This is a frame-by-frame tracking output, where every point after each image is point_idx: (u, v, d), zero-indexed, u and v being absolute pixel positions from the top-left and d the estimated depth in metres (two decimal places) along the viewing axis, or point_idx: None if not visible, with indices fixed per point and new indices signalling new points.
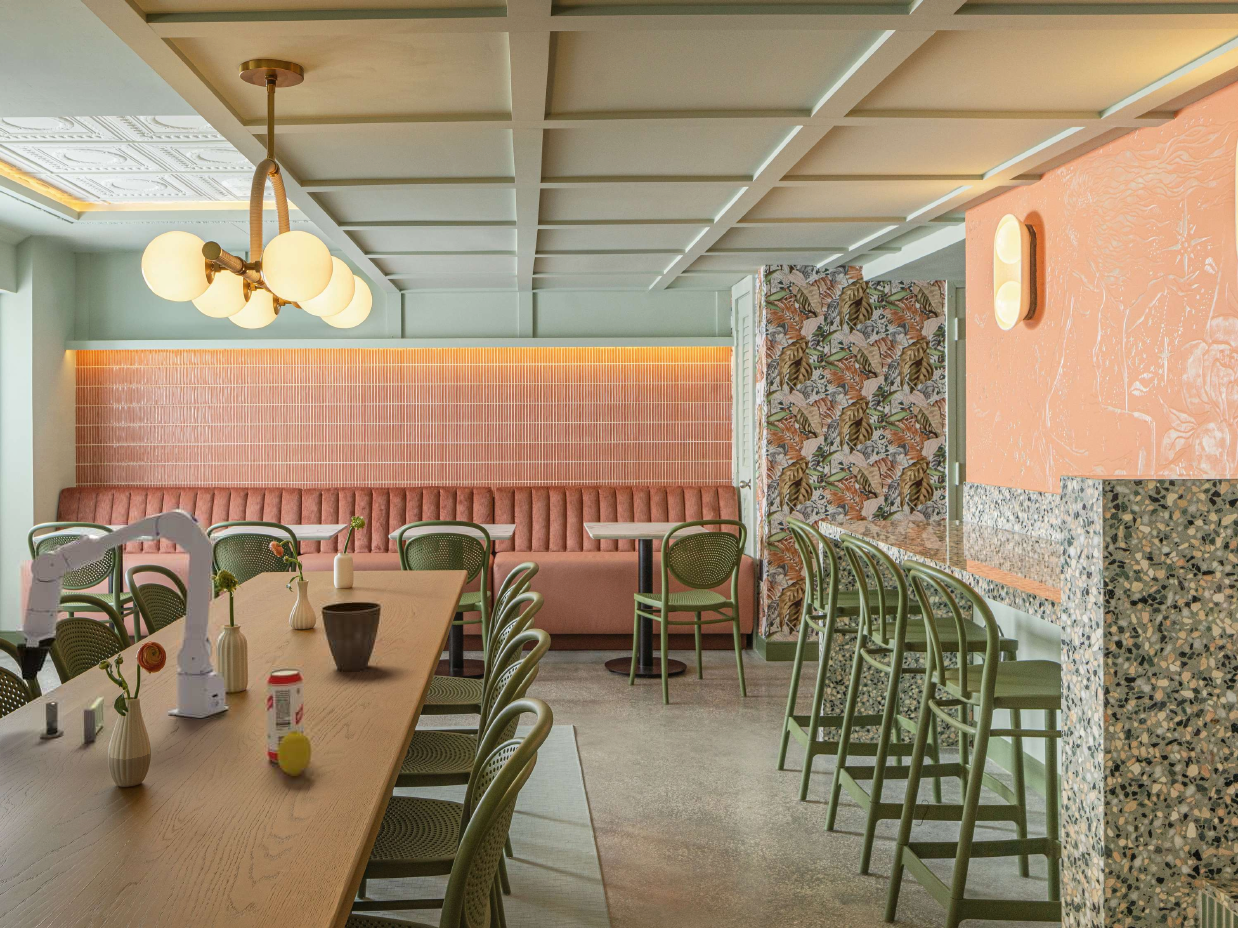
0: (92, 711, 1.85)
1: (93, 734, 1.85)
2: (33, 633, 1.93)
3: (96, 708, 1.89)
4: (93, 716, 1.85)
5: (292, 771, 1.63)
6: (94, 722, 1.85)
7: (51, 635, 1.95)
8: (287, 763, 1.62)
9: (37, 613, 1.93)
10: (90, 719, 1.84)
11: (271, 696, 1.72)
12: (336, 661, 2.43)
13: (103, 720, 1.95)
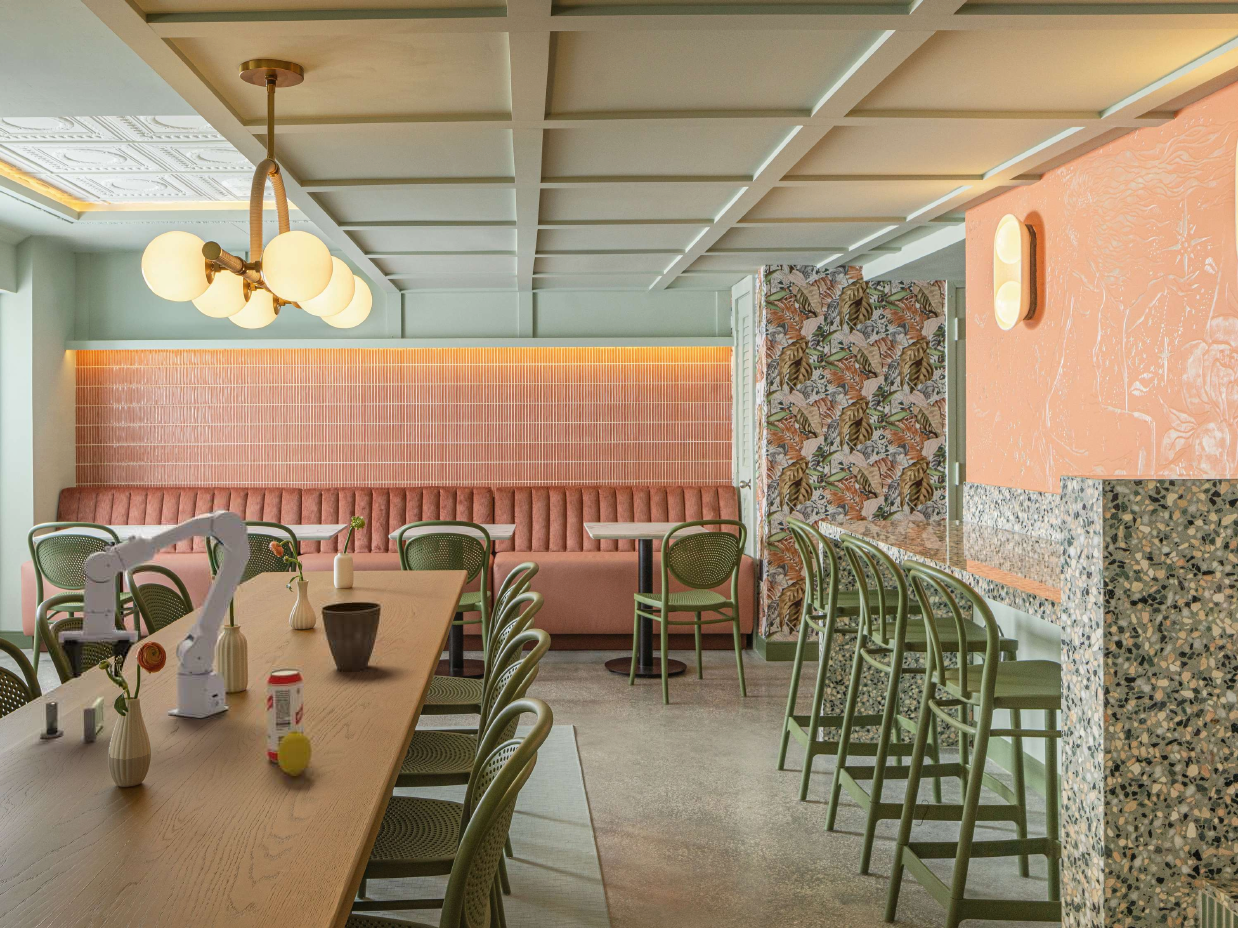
0: (92, 711, 1.85)
1: (93, 734, 1.85)
2: (113, 632, 1.95)
3: (96, 708, 1.89)
4: (93, 716, 1.85)
5: (292, 771, 1.63)
6: (94, 722, 1.85)
7: None
8: (287, 763, 1.62)
9: (113, 612, 1.96)
10: (90, 719, 1.84)
11: (271, 696, 1.72)
12: (336, 661, 2.43)
13: (103, 720, 1.95)
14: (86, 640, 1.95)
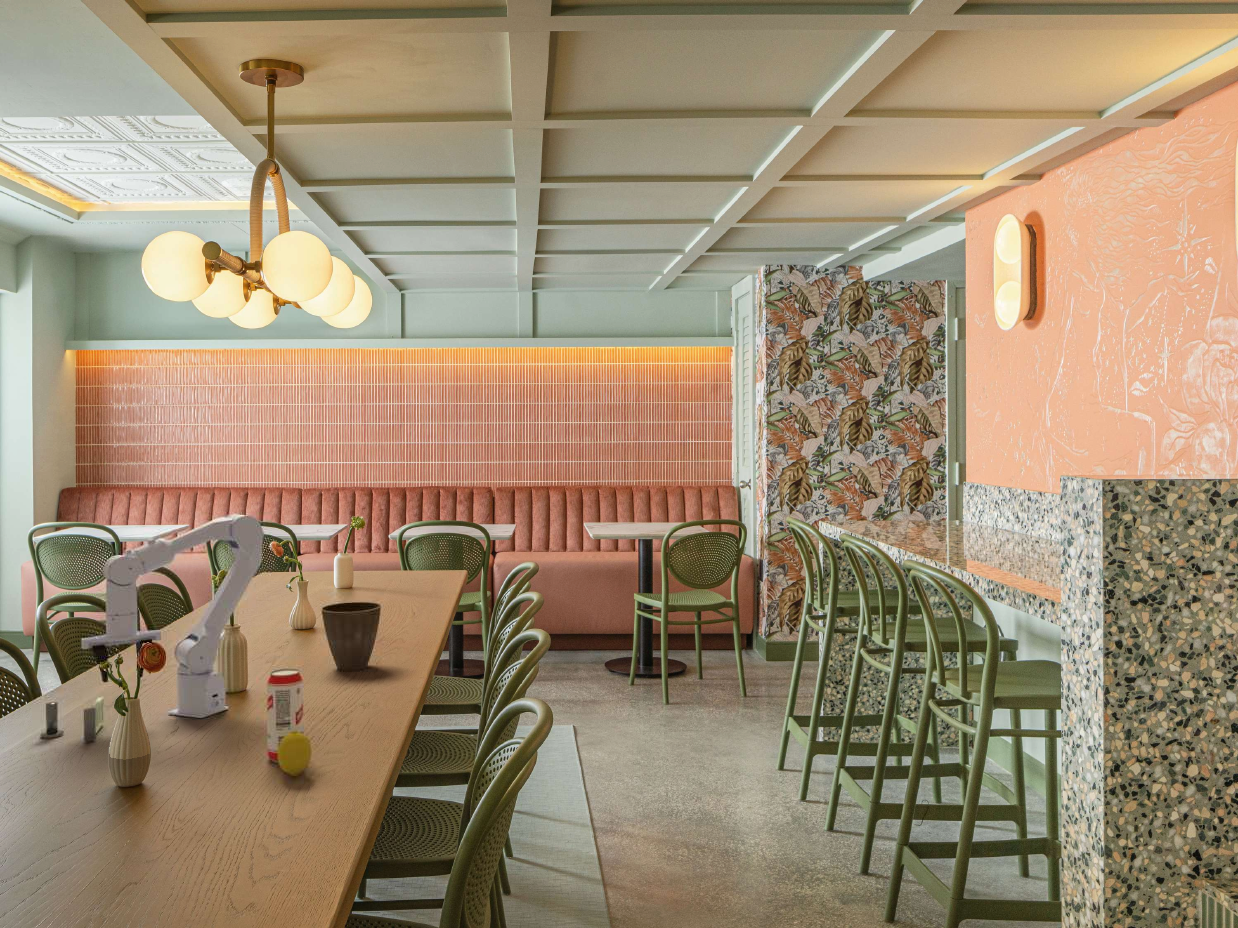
0: (92, 711, 1.85)
1: (93, 734, 1.85)
2: (138, 633, 1.98)
3: (96, 708, 1.89)
4: (93, 716, 1.85)
5: (292, 771, 1.63)
6: (94, 722, 1.85)
7: None
8: (287, 763, 1.62)
9: None
10: (90, 719, 1.84)
11: (271, 696, 1.72)
12: (336, 661, 2.43)
13: (103, 720, 1.95)
14: (110, 644, 1.95)
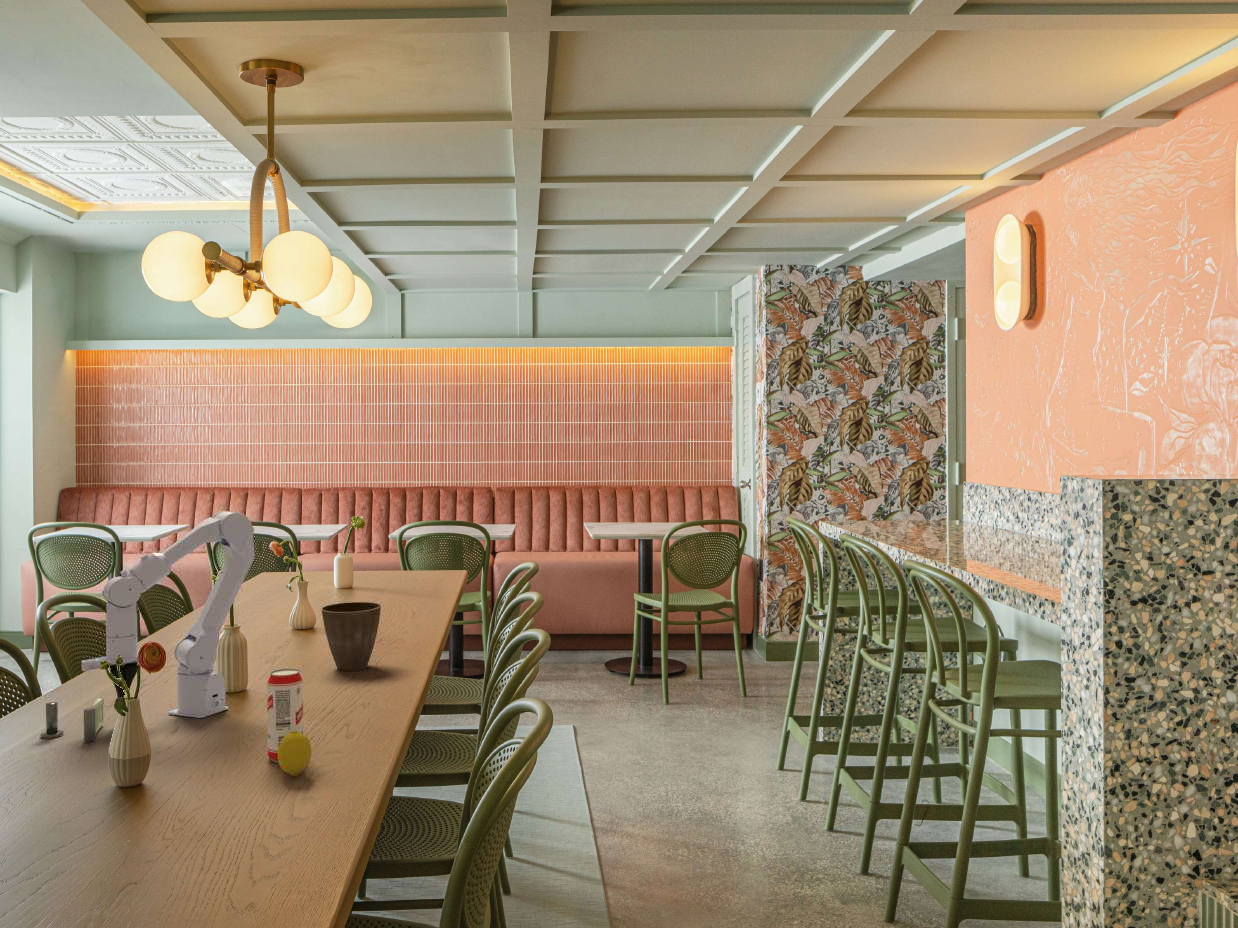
0: (92, 711, 1.85)
1: (93, 734, 1.85)
2: None
3: (96, 708, 1.89)
4: (93, 716, 1.85)
5: (292, 771, 1.63)
6: (94, 722, 1.85)
7: None
8: (287, 763, 1.62)
9: None
10: (90, 719, 1.84)
11: (271, 696, 1.72)
12: (336, 661, 2.43)
13: (103, 720, 1.95)
14: (110, 666, 1.95)
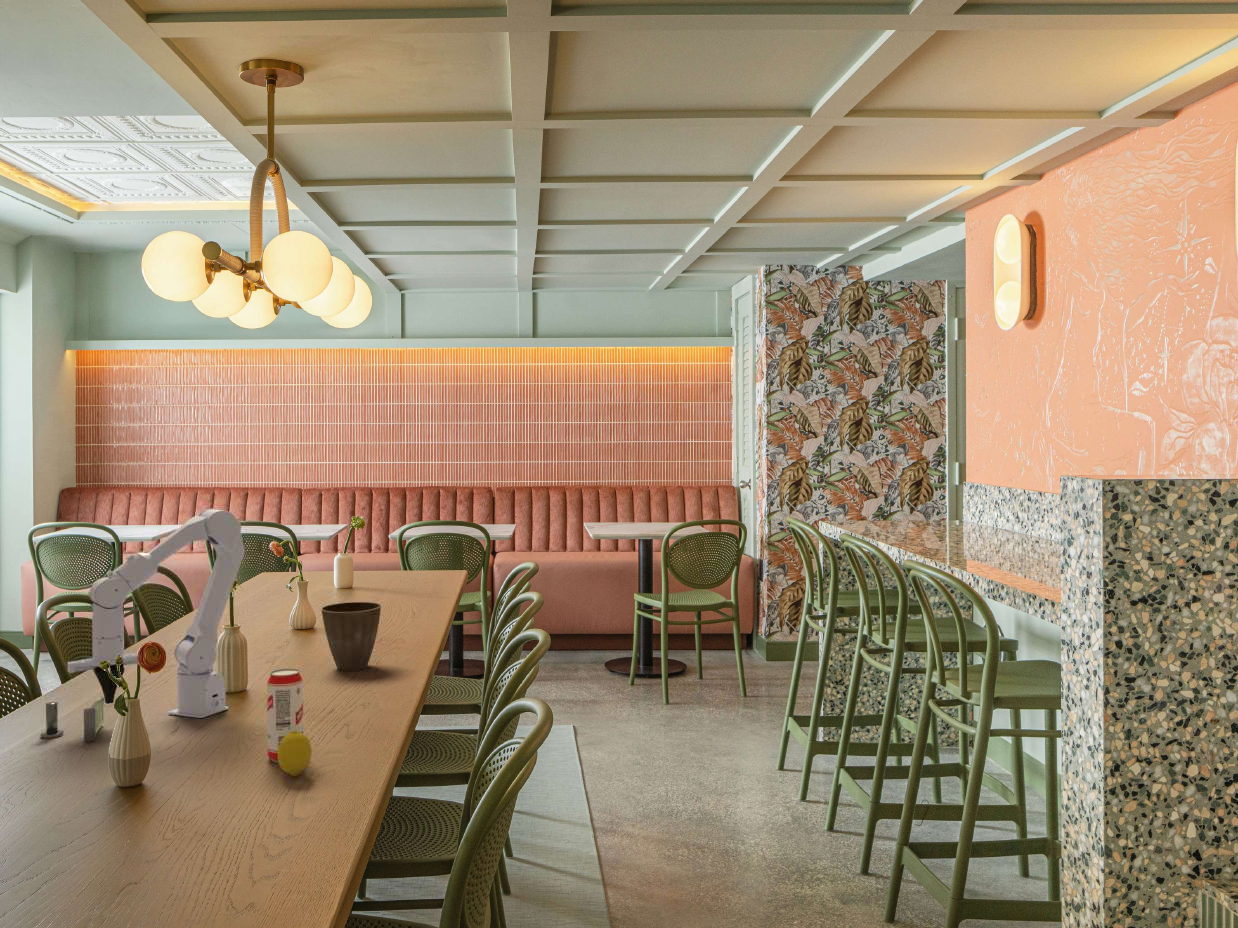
0: (92, 711, 1.85)
1: (93, 734, 1.85)
2: (125, 656, 1.97)
3: (96, 708, 1.89)
4: (93, 716, 1.85)
5: (292, 771, 1.63)
6: (94, 722, 1.85)
7: None
8: (287, 763, 1.62)
9: None
10: (90, 719, 1.84)
11: (271, 696, 1.72)
12: (336, 661, 2.43)
13: (103, 720, 1.95)
14: (97, 667, 1.94)
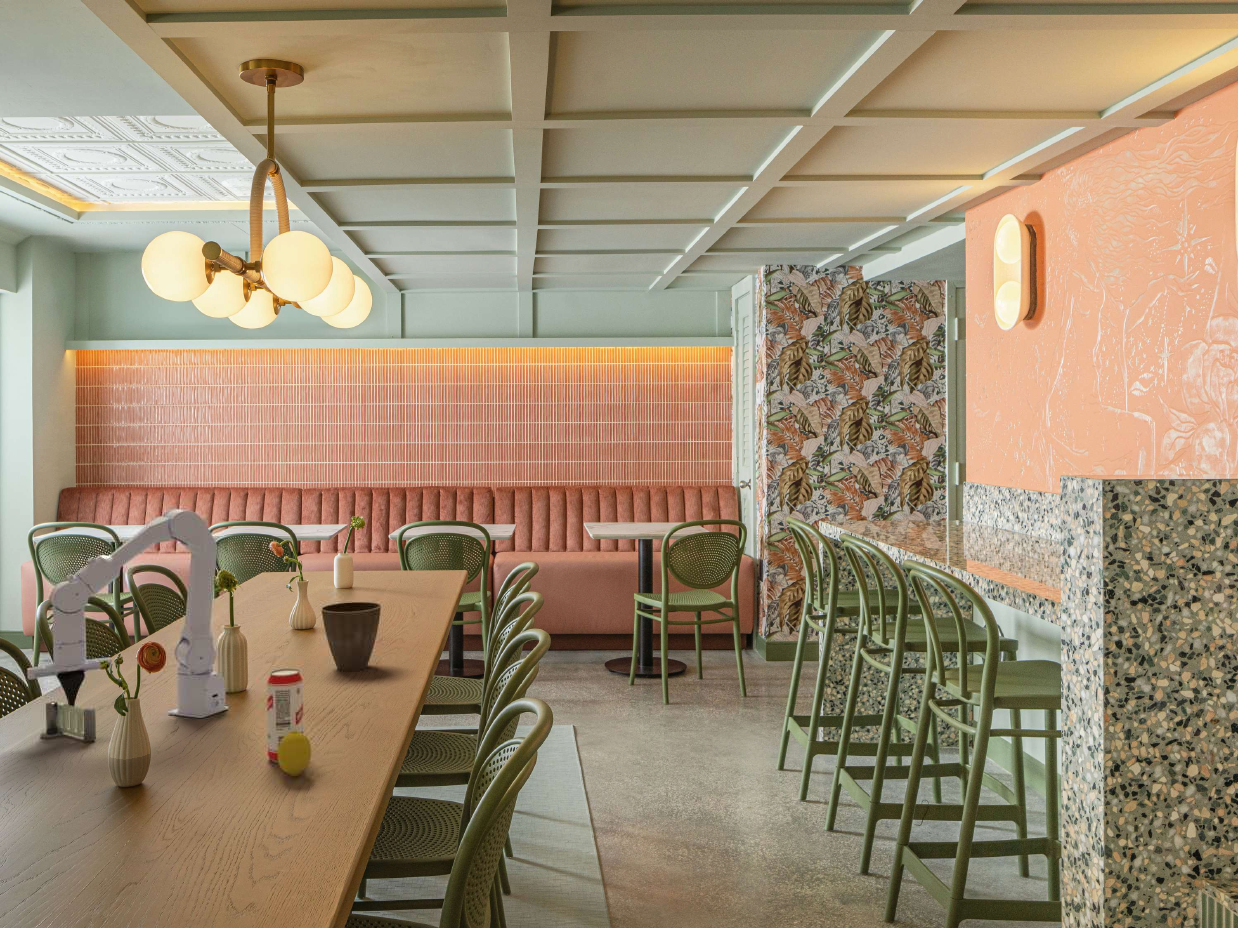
0: None
1: (95, 733, 1.86)
2: (87, 662, 1.92)
3: None
4: None
5: (292, 771, 1.63)
6: None
7: None
8: (287, 763, 1.62)
9: None
10: (93, 718, 1.85)
11: (271, 696, 1.72)
12: (336, 661, 2.43)
13: (63, 726, 1.91)
14: (58, 673, 1.89)
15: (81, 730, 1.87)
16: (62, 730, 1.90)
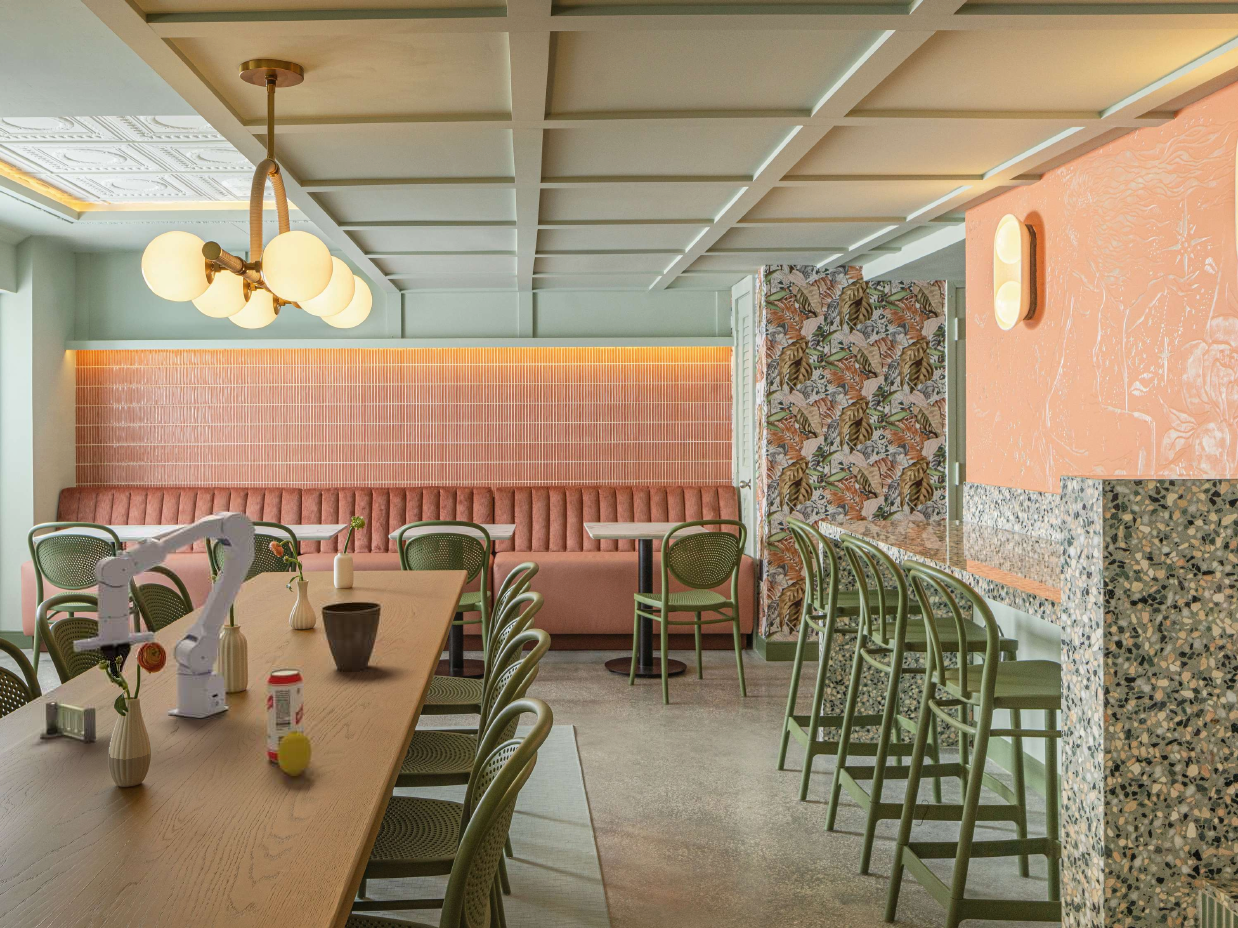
0: None
1: (95, 733, 1.86)
2: (130, 635, 1.96)
3: None
4: None
5: (292, 771, 1.63)
6: None
7: None
8: (287, 763, 1.62)
9: (129, 616, 1.96)
10: (93, 718, 1.85)
11: (271, 696, 1.72)
12: (336, 661, 2.43)
13: (63, 726, 1.91)
14: (102, 646, 1.93)
15: (81, 730, 1.87)
16: (62, 730, 1.90)
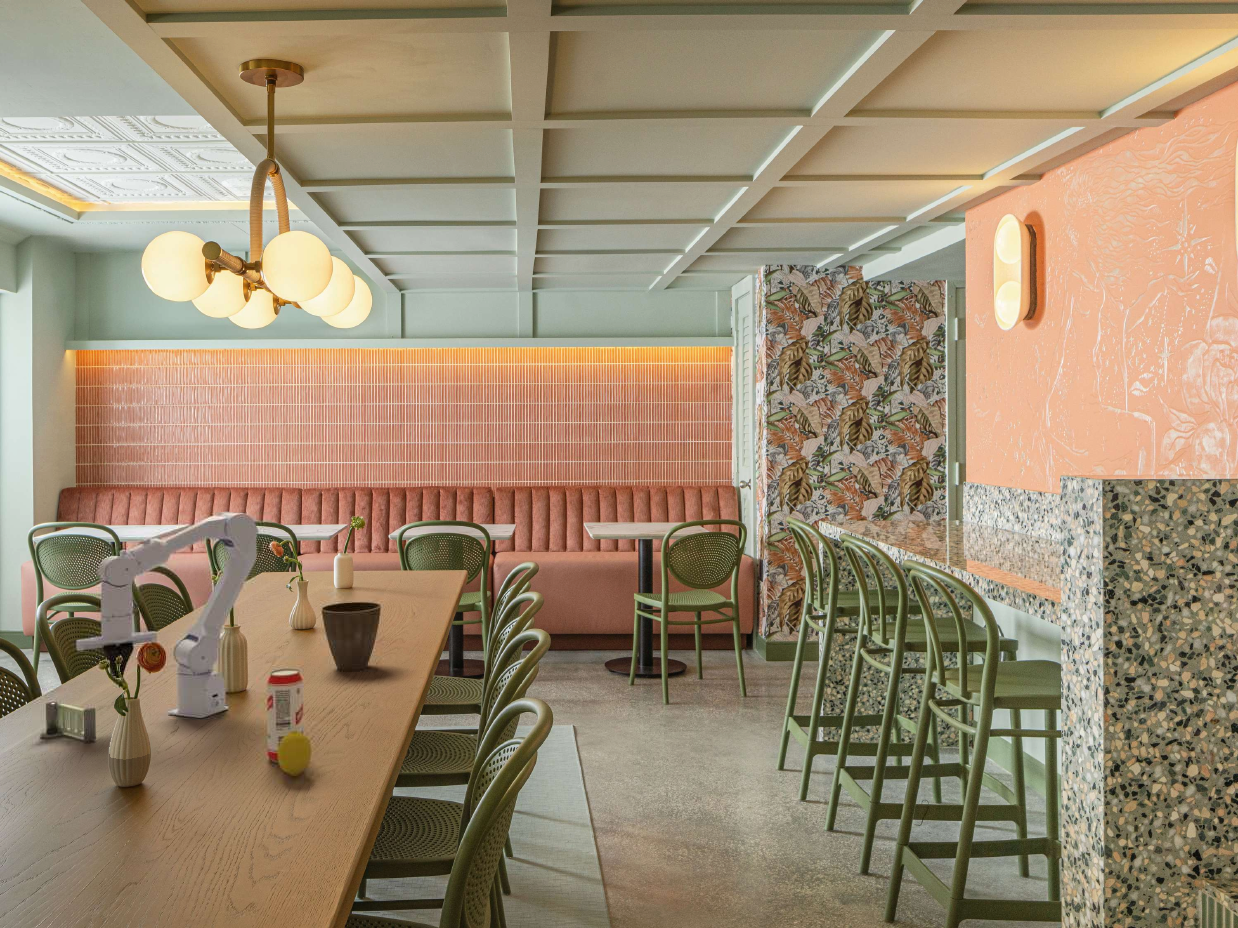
0: None
1: (95, 733, 1.86)
2: (133, 635, 1.96)
3: None
4: None
5: (292, 771, 1.63)
6: None
7: None
8: (287, 763, 1.62)
9: (132, 615, 1.96)
10: (93, 718, 1.85)
11: (271, 696, 1.72)
12: (336, 661, 2.43)
13: (63, 726, 1.91)
14: (105, 645, 1.93)
15: (81, 730, 1.87)
16: (62, 730, 1.90)
